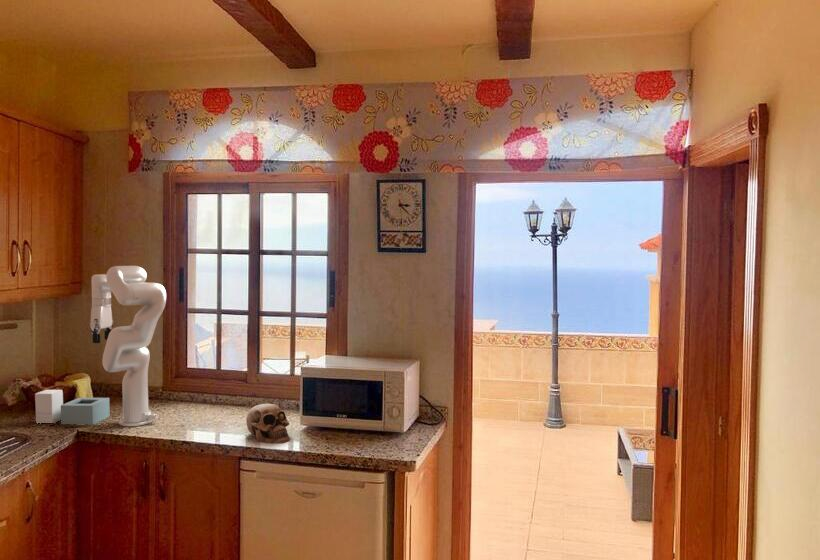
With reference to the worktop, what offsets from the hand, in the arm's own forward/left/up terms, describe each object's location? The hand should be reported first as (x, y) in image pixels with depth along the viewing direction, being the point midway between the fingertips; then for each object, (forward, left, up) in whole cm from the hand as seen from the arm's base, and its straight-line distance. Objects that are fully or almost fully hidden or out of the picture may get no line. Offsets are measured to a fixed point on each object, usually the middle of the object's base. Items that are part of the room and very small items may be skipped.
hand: (102, 341), depth 272 cm
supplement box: (+12, +20, -31) cm, 38 cm away
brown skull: (-84, +37, -31) cm, 96 cm away
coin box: (-2, +18, -30) cm, 35 cm away
